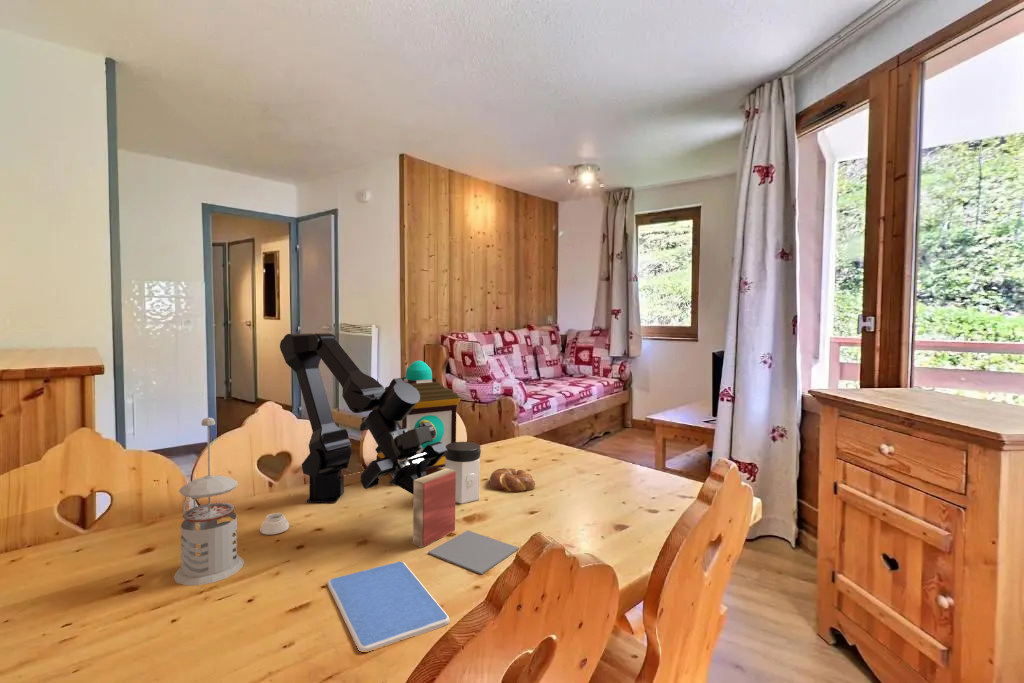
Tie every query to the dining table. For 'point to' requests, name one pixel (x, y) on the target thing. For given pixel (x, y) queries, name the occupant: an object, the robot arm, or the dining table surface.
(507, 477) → the pretzel
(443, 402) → the decorative lantern
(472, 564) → the mat
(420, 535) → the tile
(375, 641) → the tablet computer
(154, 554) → the dining table surface
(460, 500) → the jar
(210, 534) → the french press
